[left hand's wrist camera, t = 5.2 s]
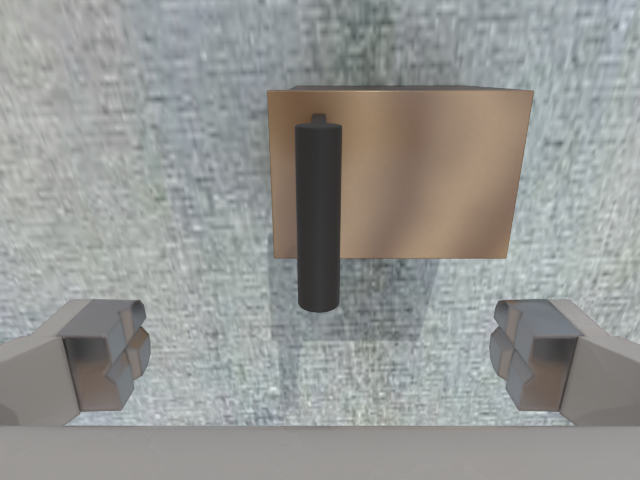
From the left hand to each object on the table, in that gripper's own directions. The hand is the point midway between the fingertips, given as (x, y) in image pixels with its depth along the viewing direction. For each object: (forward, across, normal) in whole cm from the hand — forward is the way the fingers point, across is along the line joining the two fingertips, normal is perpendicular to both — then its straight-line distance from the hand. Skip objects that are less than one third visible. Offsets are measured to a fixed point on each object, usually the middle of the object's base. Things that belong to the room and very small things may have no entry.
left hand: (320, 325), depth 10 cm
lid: (+16, +4, 0) cm, 16 cm away
